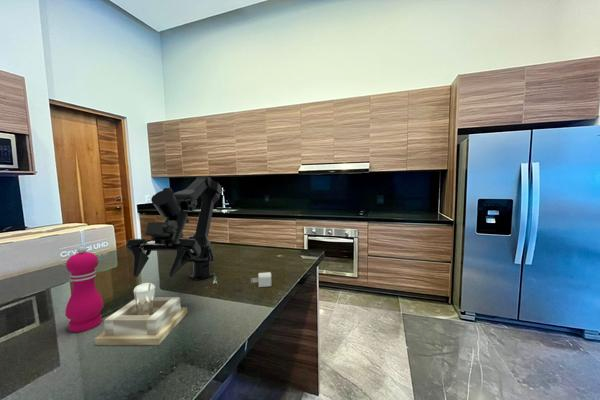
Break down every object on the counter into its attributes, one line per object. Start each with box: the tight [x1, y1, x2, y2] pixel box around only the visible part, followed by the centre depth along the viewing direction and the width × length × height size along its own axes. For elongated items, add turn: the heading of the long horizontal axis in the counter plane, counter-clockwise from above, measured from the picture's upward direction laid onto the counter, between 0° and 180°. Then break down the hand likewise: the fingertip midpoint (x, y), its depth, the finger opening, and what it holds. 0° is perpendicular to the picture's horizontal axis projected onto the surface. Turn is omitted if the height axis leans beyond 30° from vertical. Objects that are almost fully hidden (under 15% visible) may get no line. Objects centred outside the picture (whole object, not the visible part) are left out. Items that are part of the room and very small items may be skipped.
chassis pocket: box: [94, 296, 188, 346], centre depth 62 cm, size 14×14×5 cm
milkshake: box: [133, 282, 156, 315], centre depth 62 cm, size 4×5×10 cm
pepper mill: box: [64, 246, 104, 333], centre depth 62 cm, size 7×7×20 cm
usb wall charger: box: [250, 271, 272, 288], centre depth 87 cm, size 4×7×4 cm, turn 100°
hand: (153, 276), depth 64 cm, fingers open, 9 cm apart
